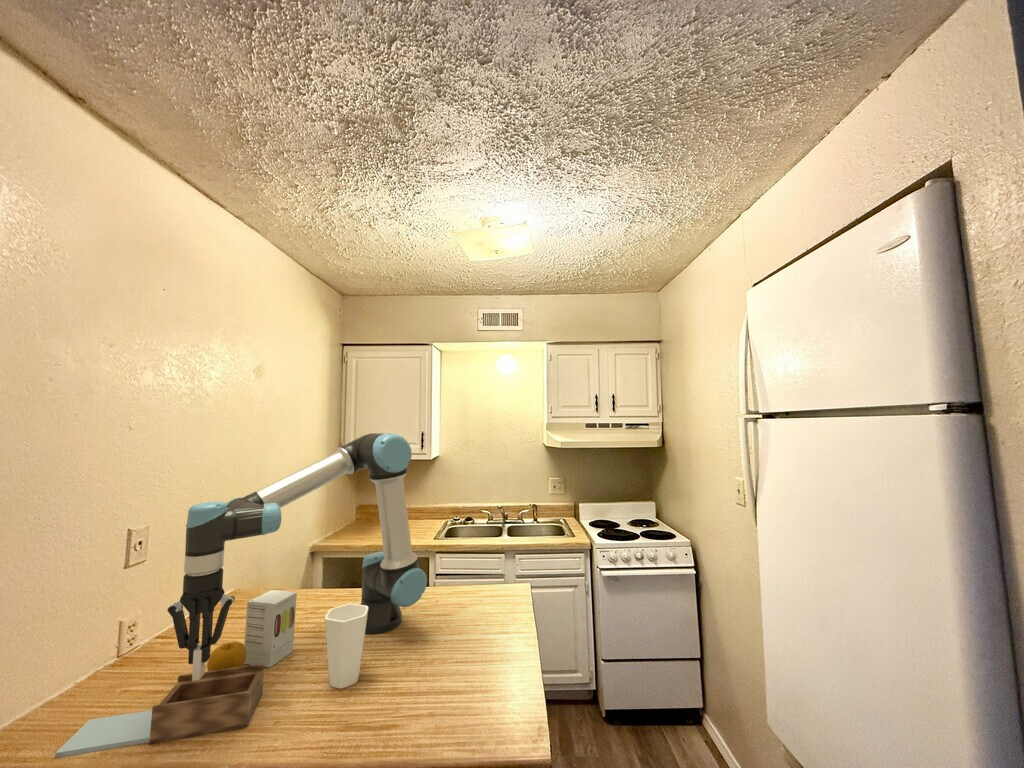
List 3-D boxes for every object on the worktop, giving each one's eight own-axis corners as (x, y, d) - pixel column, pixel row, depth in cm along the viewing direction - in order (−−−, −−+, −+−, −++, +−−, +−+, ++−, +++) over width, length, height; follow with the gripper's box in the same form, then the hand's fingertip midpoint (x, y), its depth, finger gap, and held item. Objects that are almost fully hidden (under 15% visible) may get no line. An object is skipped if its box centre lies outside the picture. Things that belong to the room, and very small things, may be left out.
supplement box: (269, 668, 115) (273, 604, 117) (241, 664, 117) (245, 601, 119) (294, 650, 125) (297, 591, 126) (267, 647, 126) (271, 588, 128)
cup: (374, 673, 113) (376, 607, 115) (348, 696, 103) (351, 623, 105) (340, 666, 117) (343, 601, 118) (312, 687, 107) (316, 616, 109)
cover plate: (173, 713, 98) (174, 706, 98) (149, 745, 88) (150, 737, 88) (89, 726, 93) (89, 719, 94) (54, 761, 84) (55, 752, 84)
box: (262, 694, 104) (264, 663, 105) (247, 727, 93) (249, 692, 93) (176, 707, 99) (179, 675, 100) (149, 744, 88) (152, 707, 88)
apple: (214, 694, 104) (217, 656, 105) (199, 683, 109) (202, 647, 110) (251, 676, 111) (253, 641, 112) (235, 667, 116) (237, 633, 117)
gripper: (241, 562, 104) (236, 663, 102) (178, 568, 100) (172, 672, 98) (230, 572, 97) (225, 681, 94) (162, 579, 93) (155, 692, 91)
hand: (198, 676), depth 96 cm, fingers closed
